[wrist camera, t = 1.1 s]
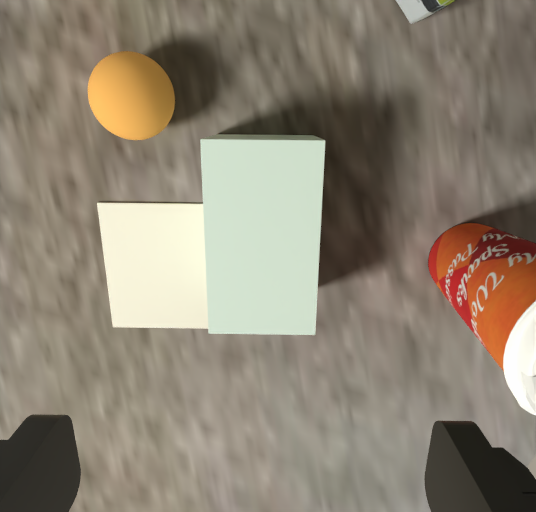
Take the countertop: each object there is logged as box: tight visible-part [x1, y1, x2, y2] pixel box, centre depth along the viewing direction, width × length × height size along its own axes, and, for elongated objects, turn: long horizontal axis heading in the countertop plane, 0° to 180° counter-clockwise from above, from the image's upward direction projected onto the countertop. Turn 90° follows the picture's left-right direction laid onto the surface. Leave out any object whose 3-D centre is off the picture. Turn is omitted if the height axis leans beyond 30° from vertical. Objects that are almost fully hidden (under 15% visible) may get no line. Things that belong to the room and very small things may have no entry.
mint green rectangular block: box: [200, 134, 325, 335], centre depth 27 cm, size 12×7×7 cm, turn 0°
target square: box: [97, 202, 208, 328], centre depth 31 cm, size 10×8×1 cm
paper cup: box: [428, 223, 536, 415], centre depth 24 cm, size 8×8×14 cm
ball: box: [88, 51, 175, 140], centre depth 25 cm, size 5×5×5 cm
